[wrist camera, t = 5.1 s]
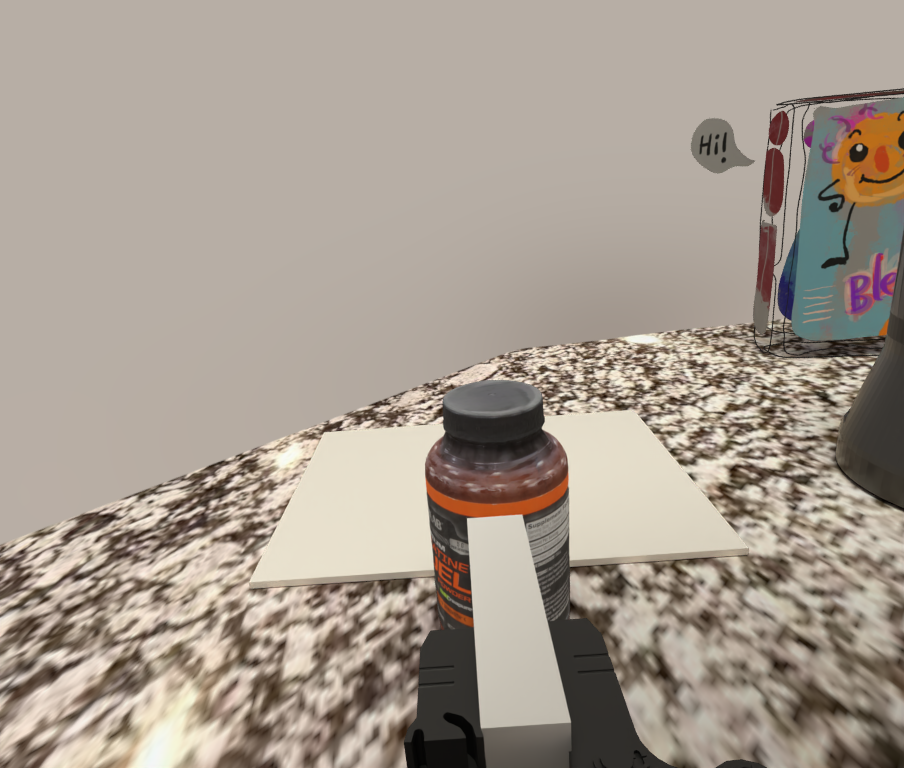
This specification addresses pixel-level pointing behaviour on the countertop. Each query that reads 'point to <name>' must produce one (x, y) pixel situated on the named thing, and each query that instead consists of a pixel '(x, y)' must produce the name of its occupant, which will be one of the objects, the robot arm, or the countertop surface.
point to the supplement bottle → (497, 491)
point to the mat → (407, 517)
